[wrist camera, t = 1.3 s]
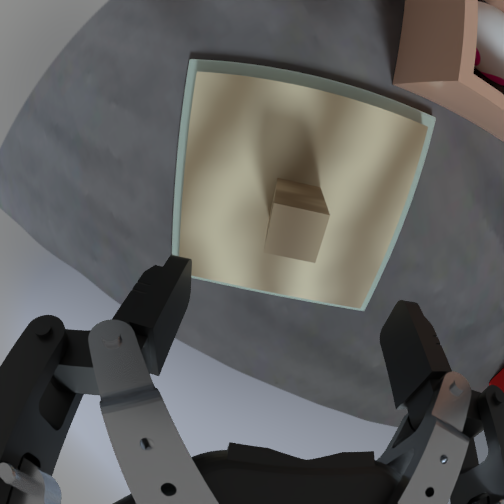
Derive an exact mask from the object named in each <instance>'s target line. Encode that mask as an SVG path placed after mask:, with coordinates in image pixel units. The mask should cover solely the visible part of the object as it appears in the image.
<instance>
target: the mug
mask: <svg viewBox="0 0 504 504" xmlns="http://www.w3.org/2000/svg"><path fill="white" fill-rule="evenodd" d="M490 385H495V386H498V387H499V388H500V389H501V390H502V391H503V392H504V368H503V369H502V370H501V371H500V372H499V373H498V374H497V375H496V376H495V377H494V378H493V379H492V380H491V381H490V383H489V386H490Z"/></svg>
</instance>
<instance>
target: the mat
mask: <svg viewBox="0 0 504 504" xmlns="http://www.w3.org/2000/svg"><path fill="white" fill-rule="evenodd" d="M197 72H211V73H223V74H232V75H241V76H248V77H255V78H262V79H268V80H274V81H280V82H285V83H290V84H295V85H300V86H304V87H309V88H313V89H317V90H321V91H325V92H329V93H333V94H337V95H340V96H344V97H347V98H351V99H354V100H357V101H361V102H364V103H367V104H370V105H373V106H376V107H379V108H382V109H384V110H387V111H390V112H393V113H395V114H398V115H401V116H403V117H406V118H408V119H411V120H413V121H416V122H418V123H420V124H423V125H425V126H427V127H428V130H427V134H426V137H425V141H424V145H423V149H422V152H421V156H420V159H419V162H418V166H417V169H416V172H415V175H414V179H413V182H412V185H411V188H410V191H409V194H408V197H407V200H406V202H405V205H404V208H403V211H402V214H401V216H400V219H399V222H398V224H397V227H396V229H395V232H394V235H393V237H392V240H391V242H390V244H389V247H388V249H387V252H386V254H385V256H384V259H383V261H382V263H381V266H380V268H379V270H378V272H377V275H376V277H375V279H374V281H373V283H372V286H371V288H370V290H369V292H368V294H367V296H366V298H365V300H364V302H363V304H362V306H361V308H354V307H348V306H342V305H337V304H331V303H325V302H320V301H314V300H309V299H303V298H298V297H293V296H288V295H282V294H277V293H272V292H267V291H262V290H257V289H252V288H247V287H242V286H238V285H233V284H228V283H223V282H219V281H214V280H210V279H205V278H200V277H196V276H191V278H196V279H200V280H205V281H209V282H214V283H218V284H223V285H228V286H232V287H237V288H242V289H247V290H252V291H257V292H262V293H267V294H272V295H277V296H282V297H287V298H292V299H298V300H303V301H308V302H314V303H320V304H325V305H331V306H337V307H342V308H348V309H354V310H360V311H364V310H365V308H366V306H367V304H368V302H369V300H370V298H371V296H372V294H373V292H374V290H375V288H376V286H377V284H378V282H379V279H380V277H381V275H382V273H383V271H384V269H385V266H386V264H387V262H388V260H389V257H390V255H391V253H392V250H393V248H394V245H395V243H396V241H397V238H398V236H399V233H400V231H401V228H402V226H403V223H404V220H405V218H406V215H407V212H408V210H409V207H410V204H411V201H412V199H413V196H414V193H415V190H416V187H417V184H418V181H419V178H420V174H421V171H422V168H423V165H424V161H425V158H426V155H427V151H428V147H429V144H430V140H431V136H432V132H433V128H434V124H435V120H436V118H435V117H433V116H431V115H429V114H426V113H424V112H422V111H420V110H417V109H415V108H413V107H410V106H408V105H405V104H403V103H400V102H398V101H395V100H392V99H390V98H387V97H384V96H381V95H379V94H376V93H373V92H370V91H367V90H364V89H361V88H357V87H354V86H351V85H347V84H344V83H340V82H337V81H333V80H329V79H325V78H321V77H317V76H313V75H309V74H304V73H300V72H295V71H290V70H285V69H279V68H273V67H267V66H261V65H254V64H246V63H237V62H228V61H216V60H201V59H190V60H189V66H188V73H187V79H186V86H185V93H184V100H183V108H182V116H181V124H180V133H179V143H178V153H177V165H176V177H175V192H174V210H173V234H172V255H175V256H179V248H180V226H181V209H182V195H183V182H184V170H185V159H186V150H187V140H188V131H189V123H190V115H191V108H192V100H193V93H194V86H195V80H196V74H197Z"/></svg>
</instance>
